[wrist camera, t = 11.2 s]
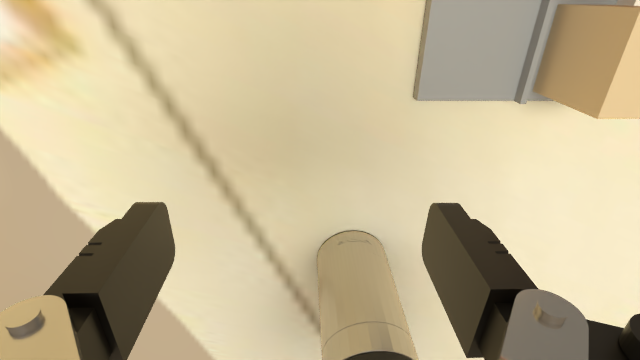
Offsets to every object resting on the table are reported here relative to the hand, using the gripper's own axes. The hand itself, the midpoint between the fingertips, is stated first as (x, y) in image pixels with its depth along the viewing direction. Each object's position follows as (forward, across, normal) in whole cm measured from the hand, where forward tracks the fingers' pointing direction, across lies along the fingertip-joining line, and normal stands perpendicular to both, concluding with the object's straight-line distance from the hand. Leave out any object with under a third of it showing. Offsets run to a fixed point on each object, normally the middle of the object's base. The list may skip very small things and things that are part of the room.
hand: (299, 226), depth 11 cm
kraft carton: (+26, -26, -2) cm, 37 cm away
